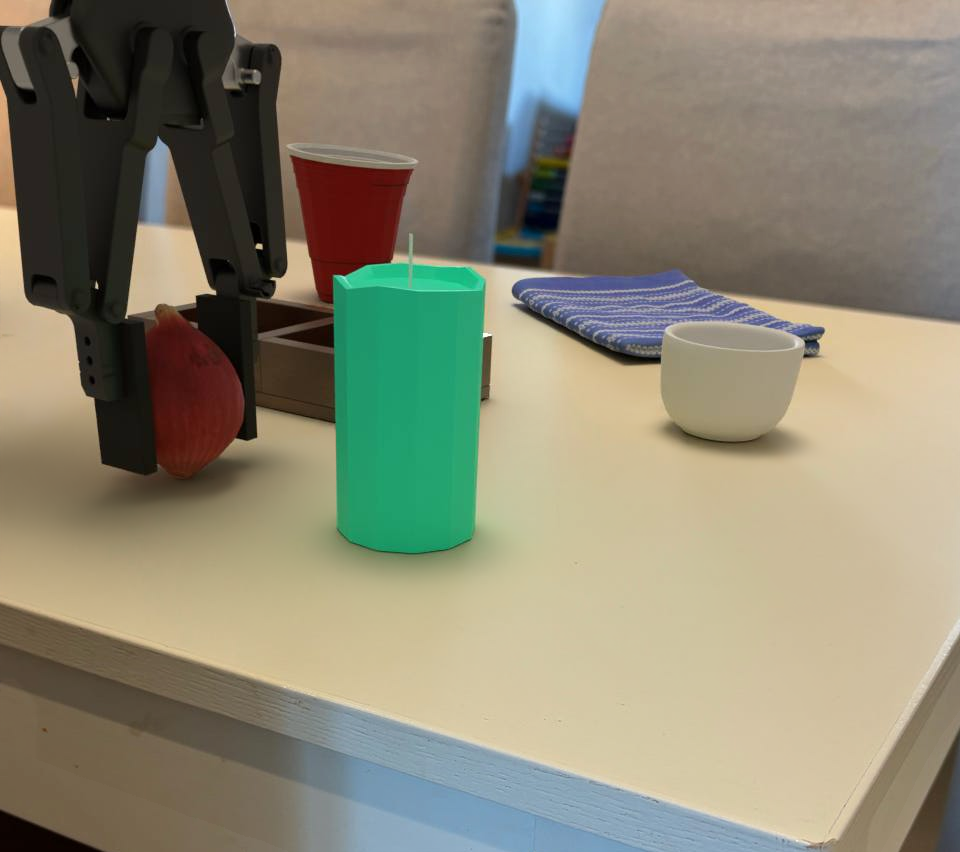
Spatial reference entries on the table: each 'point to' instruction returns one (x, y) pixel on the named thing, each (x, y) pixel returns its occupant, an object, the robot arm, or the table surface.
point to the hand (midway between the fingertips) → (182, 449)
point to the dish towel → (642, 309)
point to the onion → (190, 395)
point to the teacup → (728, 378)
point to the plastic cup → (348, 207)
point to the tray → (298, 356)
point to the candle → (407, 404)
